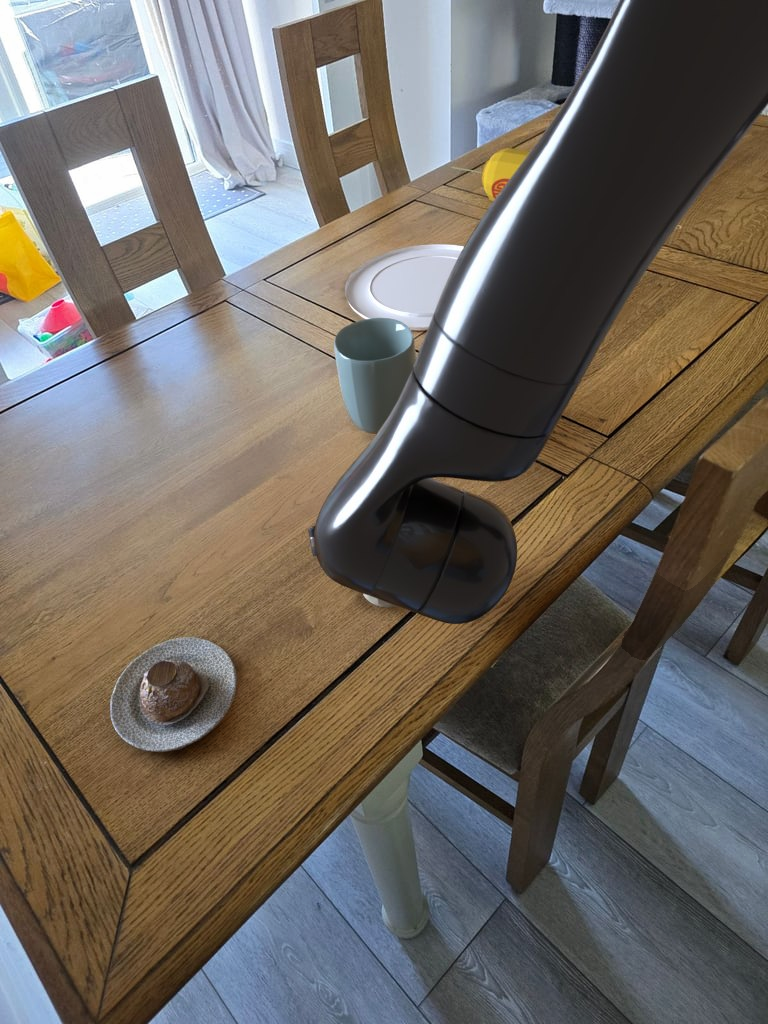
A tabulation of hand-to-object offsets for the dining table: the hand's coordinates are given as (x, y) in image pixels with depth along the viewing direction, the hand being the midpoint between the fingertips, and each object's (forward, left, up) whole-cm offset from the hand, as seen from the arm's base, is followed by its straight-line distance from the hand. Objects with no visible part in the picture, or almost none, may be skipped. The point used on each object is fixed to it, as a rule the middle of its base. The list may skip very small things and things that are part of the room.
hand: (382, 525), depth 70 cm
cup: (+5, -25, -8) cm, 27 cm away
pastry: (+17, +18, -8) cm, 26 cm away
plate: (+4, -61, -7) cm, 62 cm away
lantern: (-9, -94, -8) cm, 95 cm away
